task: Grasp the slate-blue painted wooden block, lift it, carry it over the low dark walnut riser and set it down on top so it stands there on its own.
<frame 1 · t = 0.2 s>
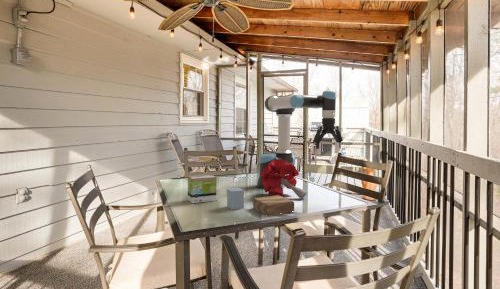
hand: (327, 153, 186), 28 cm above the table, fingers open, 13 cm apart
tea box: (202, 200, 188), on the table
block: (235, 207, 174), on the table
bouquet: (282, 196, 197), on the table
riser: (273, 210, 168), on the table
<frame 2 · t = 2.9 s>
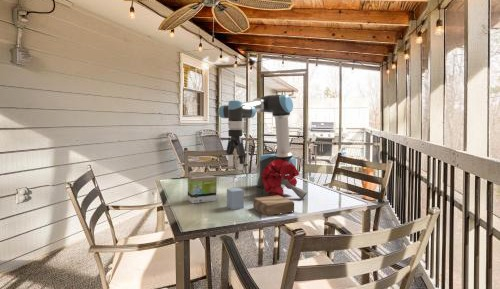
hand: (235, 168, 172), 22 cm above the table, fingers open, 13 cm apart
nothing on the table moved.
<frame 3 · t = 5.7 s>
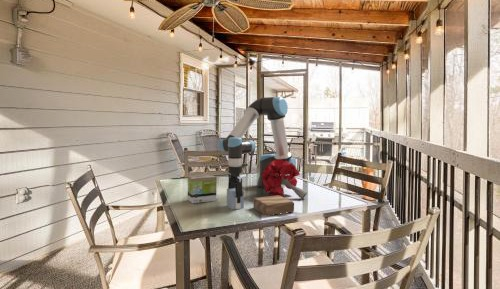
hand: (235, 206, 174), 0 cm above the table, fingers closed on block, 7 cm apart
block: (235, 207, 174), on the table, touching gripper
everything else where it was.
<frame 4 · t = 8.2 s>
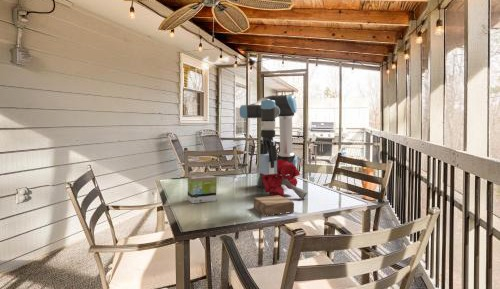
hand: (267, 172, 167), 20 cm above the table, fingers closed on block, 7 cm apart
block: (267, 173, 167), point 20 cm above the table, touching gripper
everything else where it was.
when the fingers open (8 cm above the table, at t = 11.1 s): block drops 2 cm, resting on riser.
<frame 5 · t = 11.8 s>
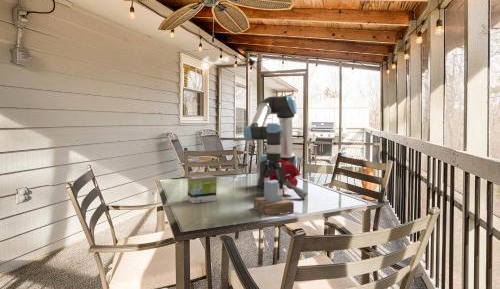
hand: (273, 192, 168), 10 cm above the table, fingers open, 13 cm apart
block: (273, 199, 168), point 5 cm above the table, touching riser
riser: (273, 211, 168), on the table, touching block
everything else where it was.
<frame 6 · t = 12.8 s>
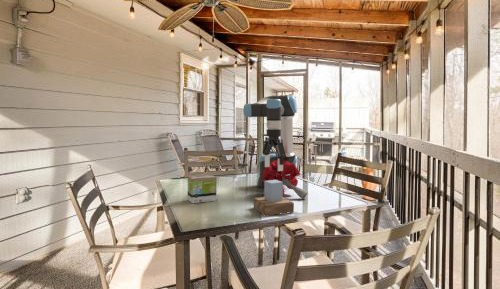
hand: (273, 168, 167), 22 cm above the table, fingers open, 13 cm apart
nothing on the table moved.
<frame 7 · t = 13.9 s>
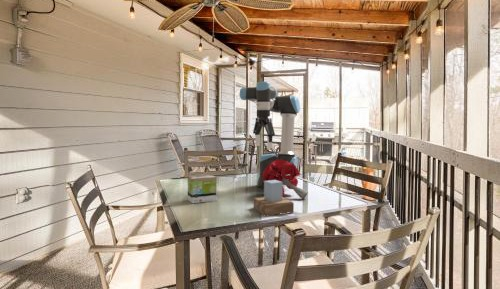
hand: (263, 147, 180), 33 cm above the table, fingers open, 13 cm apart
nothing on the table moved.
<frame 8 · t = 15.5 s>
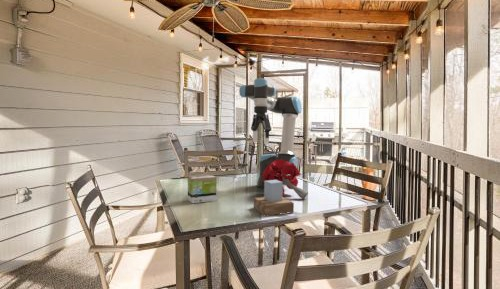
hand: (260, 142, 182), 35 cm above the table, fingers open, 13 cm apart
nothing on the table moved.
at the end: block 0.2 cm from the riser (horizontally); block point 5.5 cm above the table; block tilted 0° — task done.
